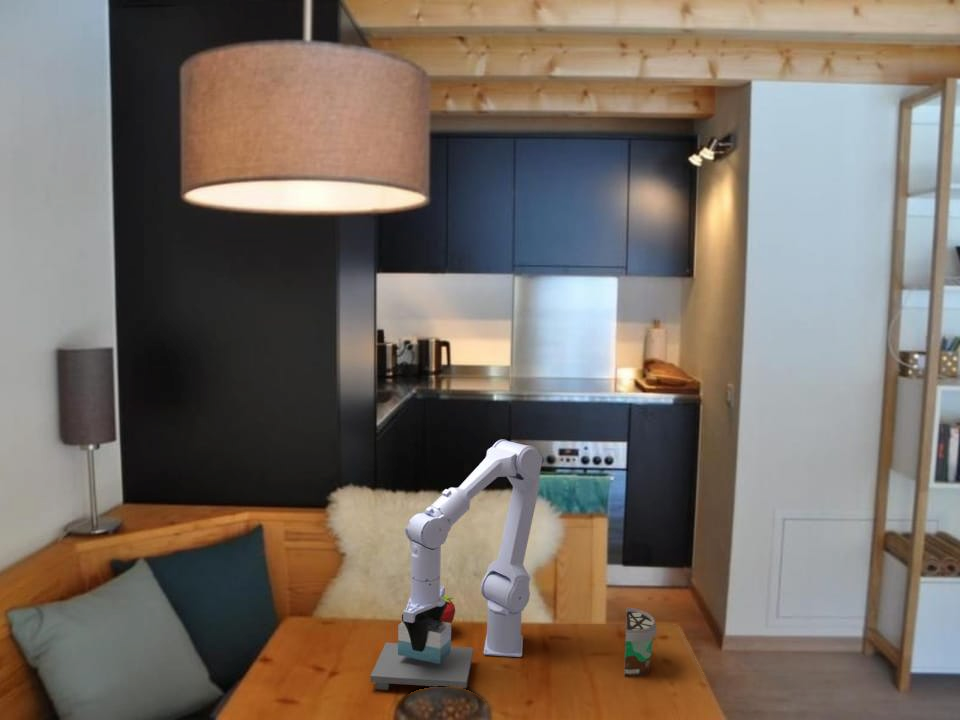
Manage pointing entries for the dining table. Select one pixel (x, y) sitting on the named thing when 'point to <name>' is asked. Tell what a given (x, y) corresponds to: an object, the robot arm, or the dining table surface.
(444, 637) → the housing
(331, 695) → the dining table surface
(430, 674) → the stand
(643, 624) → the food container
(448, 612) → the strawberry
